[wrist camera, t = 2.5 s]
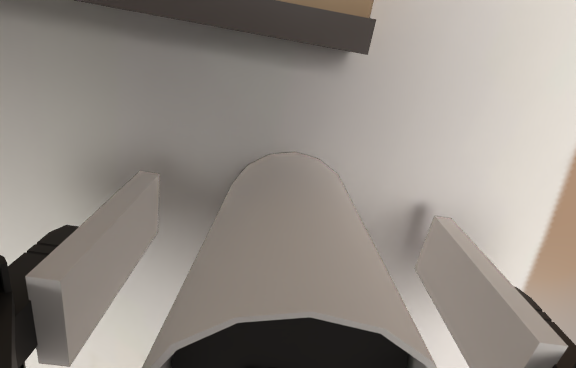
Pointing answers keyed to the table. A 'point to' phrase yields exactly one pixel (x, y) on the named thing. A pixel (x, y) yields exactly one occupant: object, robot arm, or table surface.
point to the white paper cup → (288, 282)
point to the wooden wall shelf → (272, 18)
